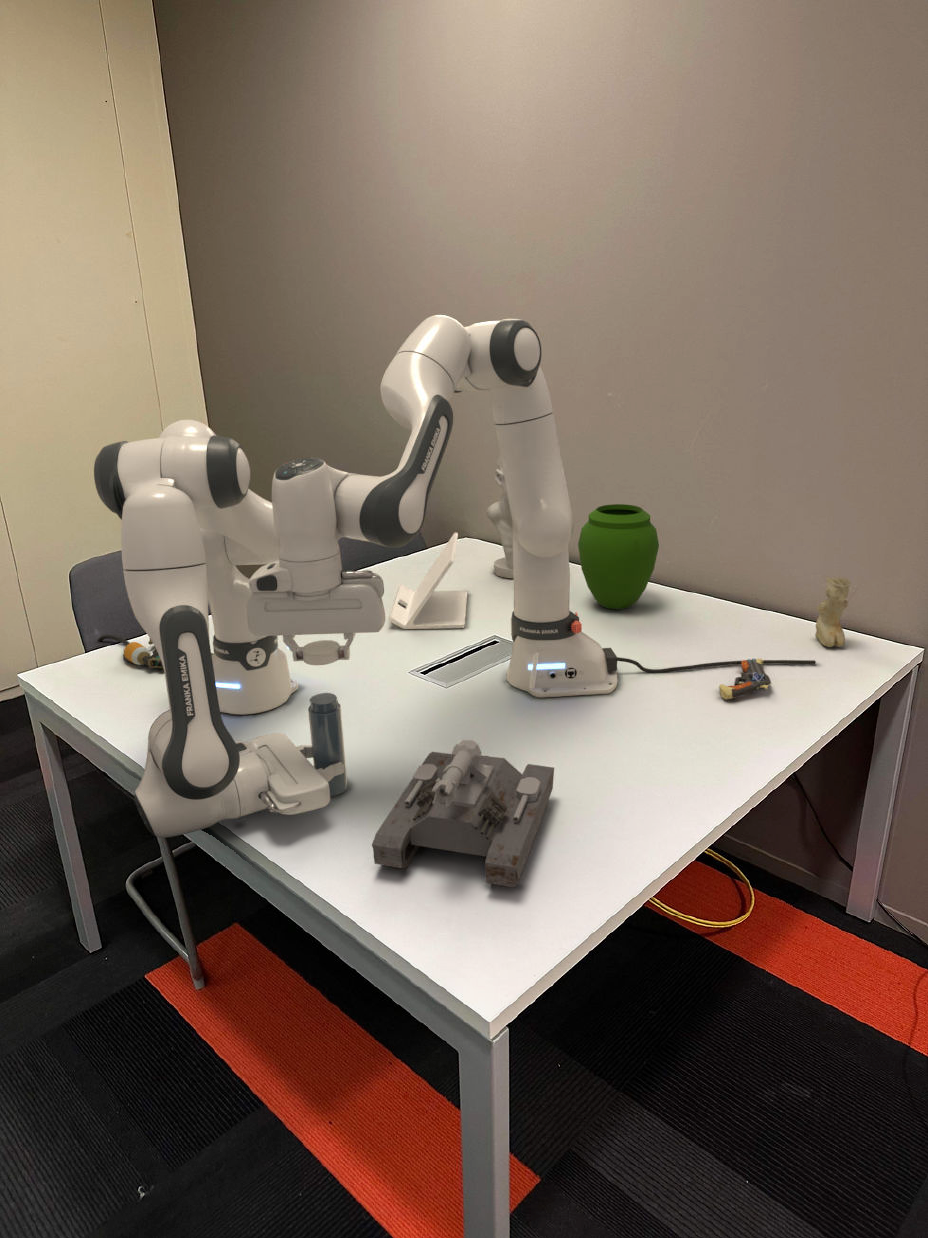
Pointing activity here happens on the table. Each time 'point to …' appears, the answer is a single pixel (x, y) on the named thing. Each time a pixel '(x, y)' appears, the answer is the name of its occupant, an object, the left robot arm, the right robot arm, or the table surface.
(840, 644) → the sculpture
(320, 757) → the jar
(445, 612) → the tablet stand
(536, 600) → the right robot arm
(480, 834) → the toy
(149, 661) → the spray gun
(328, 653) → the lid
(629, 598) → the vase
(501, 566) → the bust sculpture
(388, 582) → the table surface
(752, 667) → the toy gun
